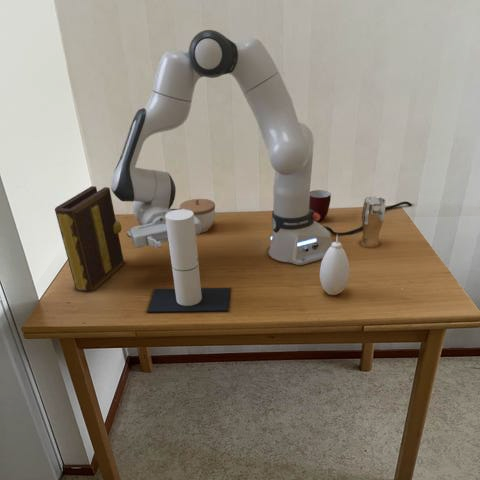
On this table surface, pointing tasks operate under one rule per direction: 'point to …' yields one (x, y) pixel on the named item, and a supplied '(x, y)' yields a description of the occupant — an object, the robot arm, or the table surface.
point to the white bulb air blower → (334, 269)
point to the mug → (320, 203)
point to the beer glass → (372, 220)
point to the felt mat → (210, 303)
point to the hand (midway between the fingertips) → (175, 241)
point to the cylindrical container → (184, 256)
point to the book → (90, 237)
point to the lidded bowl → (201, 211)
